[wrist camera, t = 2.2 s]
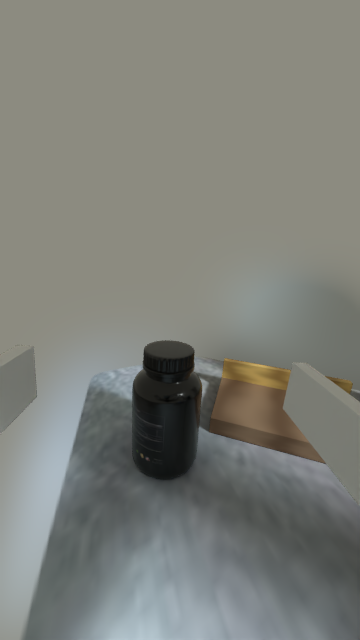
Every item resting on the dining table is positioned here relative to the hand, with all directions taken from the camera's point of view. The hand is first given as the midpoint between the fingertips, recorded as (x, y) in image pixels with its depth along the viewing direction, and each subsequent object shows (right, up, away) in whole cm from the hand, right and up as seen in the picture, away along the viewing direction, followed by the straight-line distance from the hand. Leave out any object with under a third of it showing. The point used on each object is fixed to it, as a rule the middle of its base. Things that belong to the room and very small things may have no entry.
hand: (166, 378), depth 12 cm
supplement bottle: (-1, -11, +13) cm, 17 cm away
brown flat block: (+15, -11, +20) cm, 27 cm away
